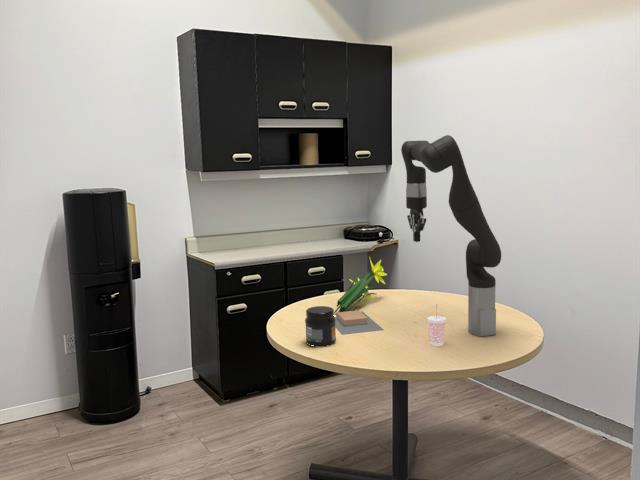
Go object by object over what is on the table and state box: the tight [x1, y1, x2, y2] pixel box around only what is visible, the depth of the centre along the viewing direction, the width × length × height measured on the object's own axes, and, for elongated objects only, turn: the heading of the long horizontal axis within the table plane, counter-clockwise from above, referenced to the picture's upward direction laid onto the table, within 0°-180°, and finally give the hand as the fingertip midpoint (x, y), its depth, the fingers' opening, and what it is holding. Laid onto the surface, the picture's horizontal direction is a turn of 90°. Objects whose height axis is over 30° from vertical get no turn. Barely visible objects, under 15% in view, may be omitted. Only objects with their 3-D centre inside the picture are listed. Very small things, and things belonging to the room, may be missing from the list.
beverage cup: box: [427, 303, 447, 347], centre depth 199 cm, size 6×6×14 cm
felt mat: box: [334, 310, 385, 336], centre depth 227 cm, size 26×16×1 cm, turn 14°
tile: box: [336, 310, 368, 327], centre depth 228 cm, size 2×9×11 cm
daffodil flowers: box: [334, 256, 388, 314], centre depth 251 cm, size 17×15×35 cm
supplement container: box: [304, 305, 337, 347], centre depth 205 cm, size 10×10×12 cm
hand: (416, 241), depth 221 cm, fingers closed
